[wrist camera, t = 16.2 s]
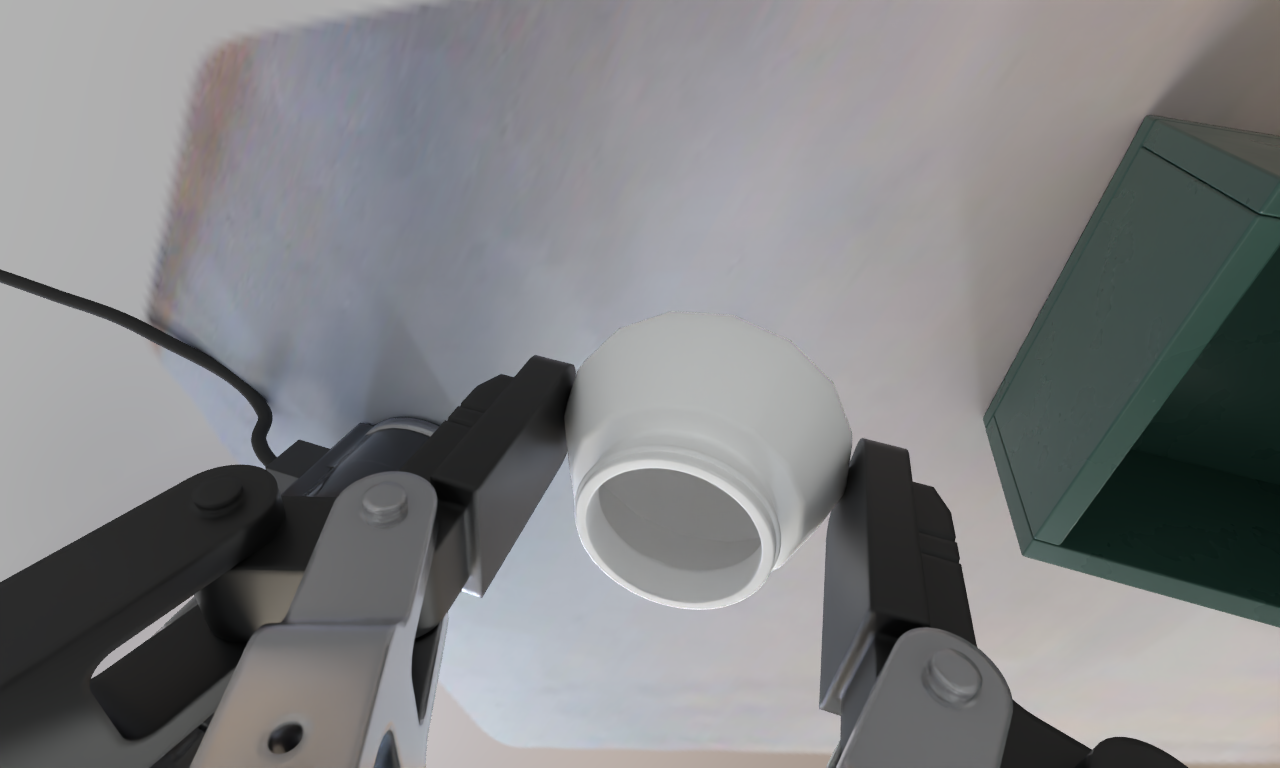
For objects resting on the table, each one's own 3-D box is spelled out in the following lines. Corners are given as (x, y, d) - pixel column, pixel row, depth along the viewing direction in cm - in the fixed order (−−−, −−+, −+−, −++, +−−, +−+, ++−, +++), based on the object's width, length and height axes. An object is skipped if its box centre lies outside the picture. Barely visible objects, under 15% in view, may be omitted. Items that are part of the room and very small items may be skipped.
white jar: (705, 241, 10) (533, 406, 13) (660, 323, 7) (458, 506, 10) (912, 447, 11) (708, 560, 14) (929, 581, 8) (678, 684, 11)
